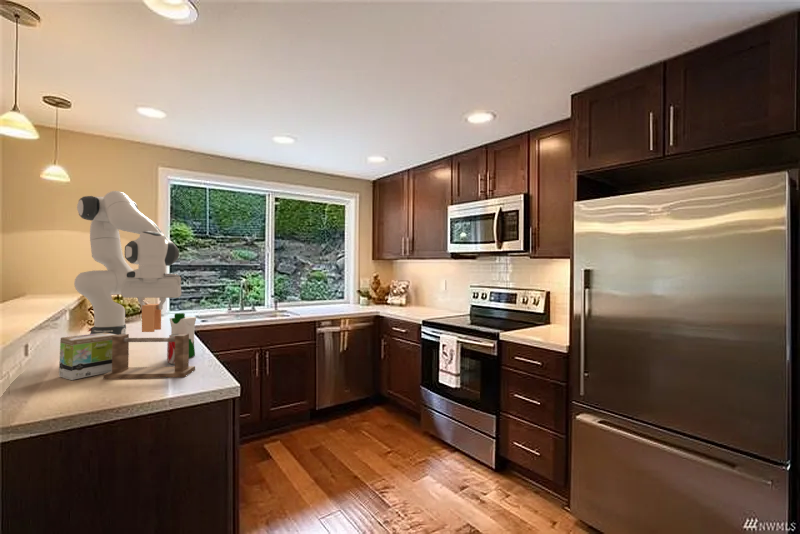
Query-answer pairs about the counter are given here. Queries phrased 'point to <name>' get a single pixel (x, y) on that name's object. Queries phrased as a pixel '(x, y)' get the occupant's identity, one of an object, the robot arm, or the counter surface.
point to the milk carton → (184, 328)
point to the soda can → (171, 350)
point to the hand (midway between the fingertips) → (151, 309)
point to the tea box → (85, 355)
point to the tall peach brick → (151, 318)
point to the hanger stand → (123, 371)
